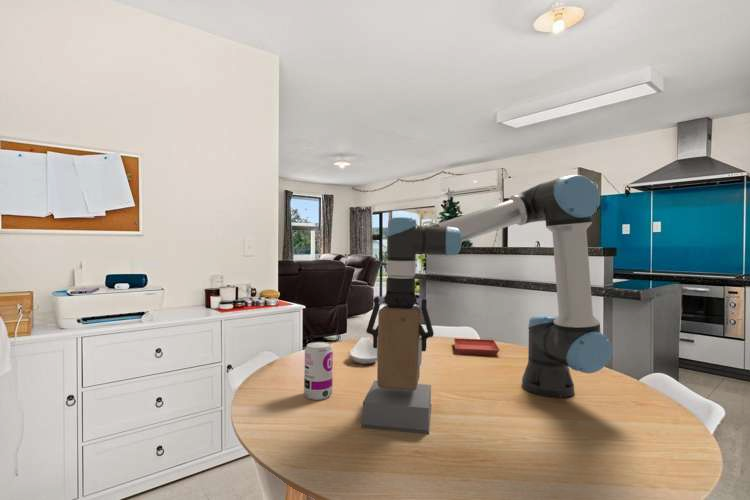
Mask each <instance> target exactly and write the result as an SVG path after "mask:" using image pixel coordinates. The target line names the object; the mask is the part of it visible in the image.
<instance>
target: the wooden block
mask: <svg viewBox="0 0 750 500" xmlns="http://www.w3.org/2000/svg"><path fill="white" fill-rule="evenodd" d="M421 311H422V308H421V307H420V306H419V305H414V306H413V307H412V308H411V309H405V308H389V307H388V305H387V304H386V305H384V306H383V307H382V308H379V311H378V314H377V318H378V319H377V320H378V324H377V326H378V362H377V369H376V370H377V378H376V381H377V384H378V387H380V388H386V389H397V390H408V391H414V390H416V388H417V384H419V380H420V372H421V371H420V369H421V368H420V367H421V365H418V346H419V337H421V336H420V334H419V322H420V323H421V322H422V321H421V320H422V319H421V316H422V315H421V314H422V312H421Z"/></svg>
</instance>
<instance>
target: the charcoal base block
mask: <svg viewBox="0 0 750 500" xmlns="http://www.w3.org/2000/svg"><path fill="white" fill-rule="evenodd" d="M431 402H432V384H423V383H421V384H420V383H418V384H417V388H416V390H414V391H408V390H397V389H386V388H380V387H378V384H377V380H373V383H372V384H371V386H370V388H369V390H368V392H367V394H366V395H365V397H364V399H363V401H362V417H361V418H362V420H361V421H362V423H361V427H360V428H365V429H375V430H386V431H387V430H388V431H396V432H405V433H406V432H407V433H416V434H418V433H419V434H426V435H429V434H430V428H431V427H430V426H431V414H432V403H431Z"/></svg>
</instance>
